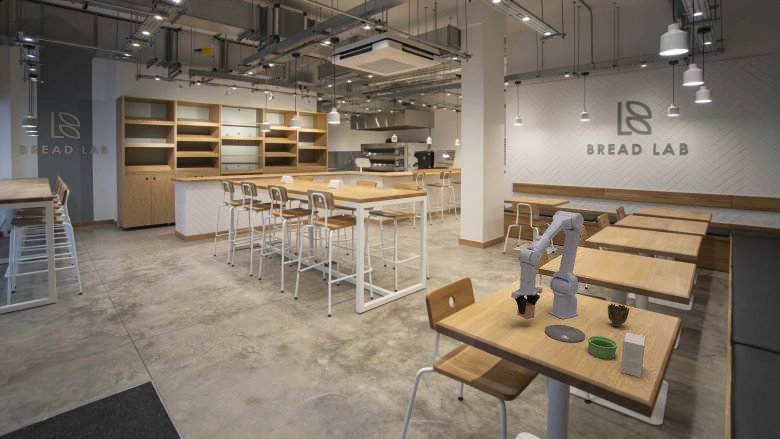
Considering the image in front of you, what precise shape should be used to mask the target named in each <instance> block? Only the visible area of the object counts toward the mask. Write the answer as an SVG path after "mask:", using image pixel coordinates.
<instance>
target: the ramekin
mask: <svg viewBox="0 0 780 439" xmlns="http://www.w3.org/2000/svg"><path fill="white" fill-rule="evenodd" d="M587 340H588V341H587V342H588V352H589V353H590V354H591V355H592V356H594V357H596V358H600V359H604V360H605V359H606V360H611V359H613V358H615V357H616V352H617V348H618V342H617V341H615V340H614V339H612V338H610V337H606V336H602V335H592V336H589V337H588V338H587Z"/></svg>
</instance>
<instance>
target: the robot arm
mask: <svg viewBox="0 0 780 439" xmlns="http://www.w3.org/2000/svg"><path fill="white" fill-rule="evenodd" d="M584 220H585V219H584V217H583V215H582V214H581V213H580V212H570V211H564V210H557V211H556V212H555V214H553V216H552V221H551V223H550V224H549V226H548V227H547V228H546V230H545V231H544V233H543V234H542V235H537V236H536V237H535V239H534V240H533V241H532V242H531V243H530V244H529V245H528V246H527V248H522V249H521V250H520V252H519V254H518V256H517V259H518V261H519V266H520V279H519V288H518V289H517V290H515V291H512V292H511V295H510V296H511V298H513V299H514V300H515V302H516V304H517V310H518V309H519V313H520V314H522V315H524V313H525V307H526V303H527V302H528V303H531V304H533V305H535V306H536V304H537V302H538V301H539V300H540V298H541V295H540V294H543V288H542V287H540V286H538V287H537V286H536V283H537V265H538V264H540V262H541V259H542V257H543V254H544V253H545V252H546V250H547V249H549V247H550V246H551V244H550V241H551V240H552V239H554V238H555V236H556V235H558V234H559V233H560V232H561V231H563V232H564V234H565V238H564V244H563V249H562V253H561V258H560V264H559V268H558V271H556V272H554V273H553V275H552V278H551V280H550V282H549V288H550V290H551V292H552V294H553V301H552V310H549V311H547V313H548V314H550V315H552V316H555V317H557V318H559V319H561V320H565V319H568V318H572V317H576V316H579V314H578V313H577V310H578V309H577V308H578V299H577V295H576V294H577V293H578V290H579V286H578V282H579V279H578V278H577V276H576V275H575V274H574V269H575V264H576V257H577V253H578V246H579V242H580V241H579V240H580V237H581V234H582V231H583V227H584ZM525 296H526V297H525Z"/></svg>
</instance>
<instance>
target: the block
mask: <svg viewBox="0 0 780 439" xmlns="http://www.w3.org/2000/svg"><path fill="white" fill-rule="evenodd" d="M535 311H536V305H533V304H531V303H528V302H527V303H526V307H525V313H524V315H522V314H520V313H519V309H518V308H517V311H516V312H517V316H519V317H521V318H523V319H525V320H530V319H534V318H535Z"/></svg>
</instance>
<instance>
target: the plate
mask: <svg viewBox="0 0 780 439" xmlns="http://www.w3.org/2000/svg"><path fill="white" fill-rule="evenodd" d="M544 333H545V334H546V336H547V337H549V338H551V339H552V340H555V341H559V342H563V343H571V344H573V343H581V342H584V341H585V339H586V334H585V333H584V332H583V331H582V330H580V329H579V328H576V327H573V326H570V325H565V324H550V325H548V326H546V327H545V328H544Z"/></svg>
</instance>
